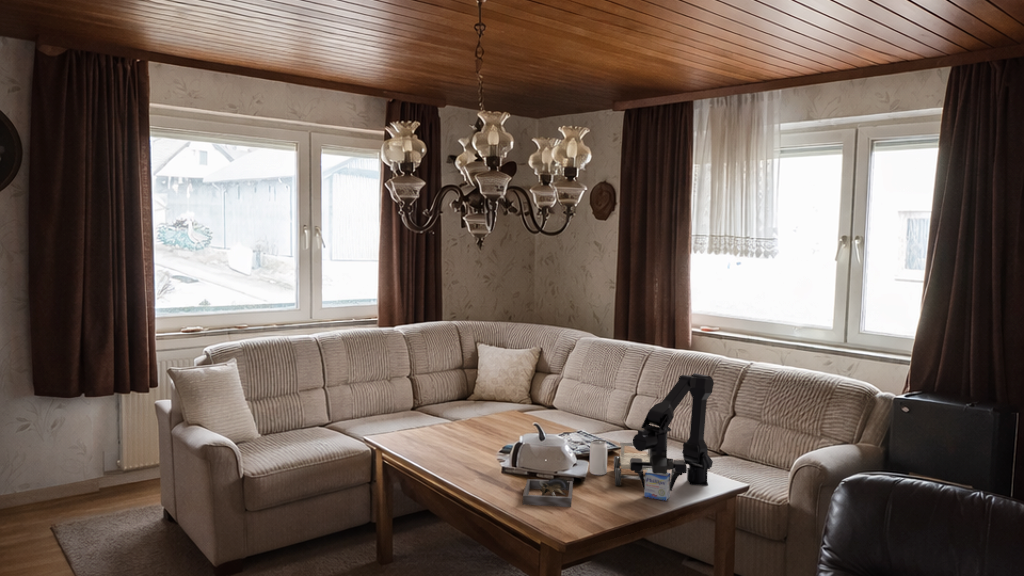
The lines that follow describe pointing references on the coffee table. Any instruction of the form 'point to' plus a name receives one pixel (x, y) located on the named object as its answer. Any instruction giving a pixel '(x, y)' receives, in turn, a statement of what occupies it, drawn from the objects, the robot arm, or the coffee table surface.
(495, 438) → the coffee table surface
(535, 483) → the gray square tray
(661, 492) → the medicine box
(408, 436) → the coffee table surface
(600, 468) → the can
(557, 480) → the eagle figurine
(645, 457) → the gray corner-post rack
